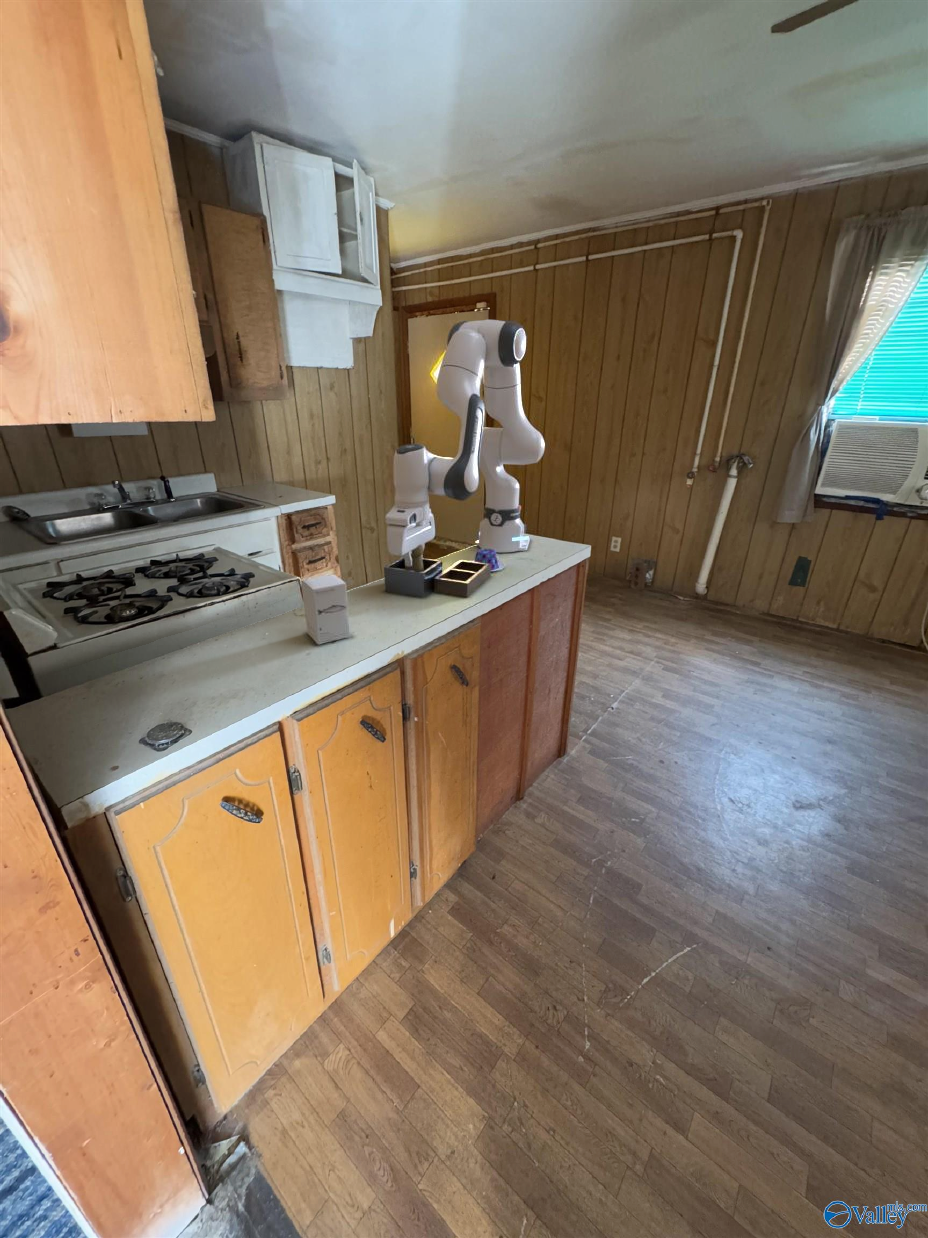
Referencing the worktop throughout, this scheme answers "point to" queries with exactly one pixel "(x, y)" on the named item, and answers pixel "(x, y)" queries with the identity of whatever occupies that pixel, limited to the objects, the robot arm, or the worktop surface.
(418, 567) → the cork
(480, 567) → the divided tray
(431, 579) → the grey open box
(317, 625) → the white packaging box
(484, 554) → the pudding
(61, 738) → the worktop surface
